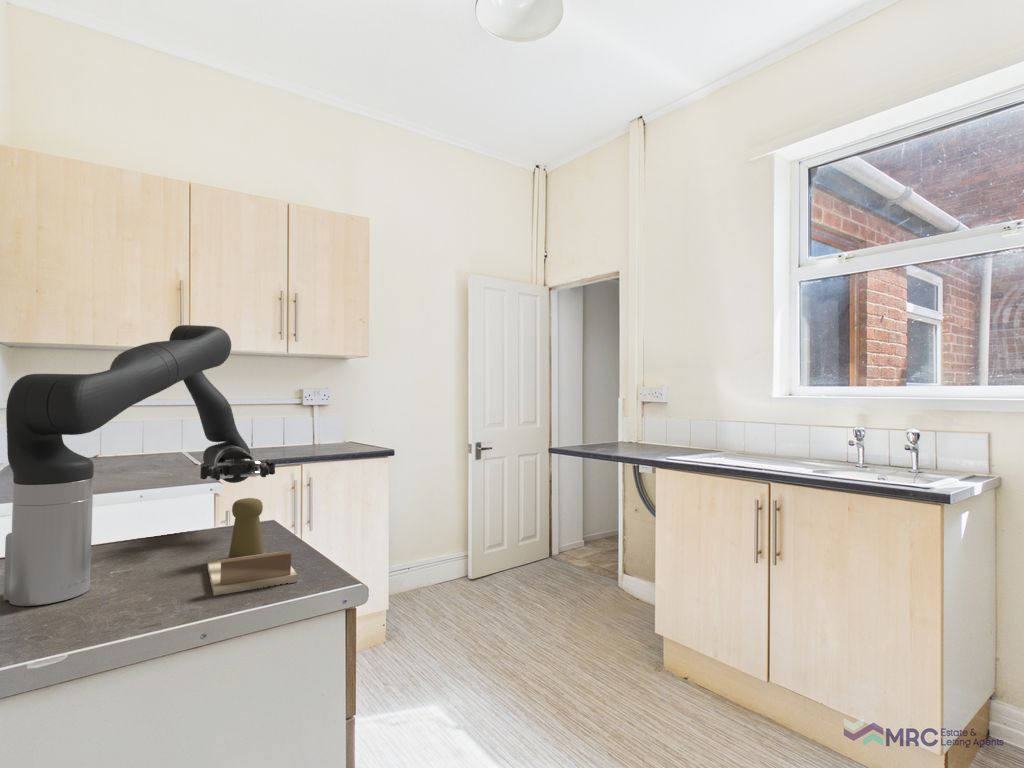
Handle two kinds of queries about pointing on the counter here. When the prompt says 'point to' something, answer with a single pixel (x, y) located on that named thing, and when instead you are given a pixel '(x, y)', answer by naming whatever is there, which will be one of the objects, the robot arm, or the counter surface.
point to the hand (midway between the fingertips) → (241, 473)
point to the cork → (246, 528)
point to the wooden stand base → (251, 572)
